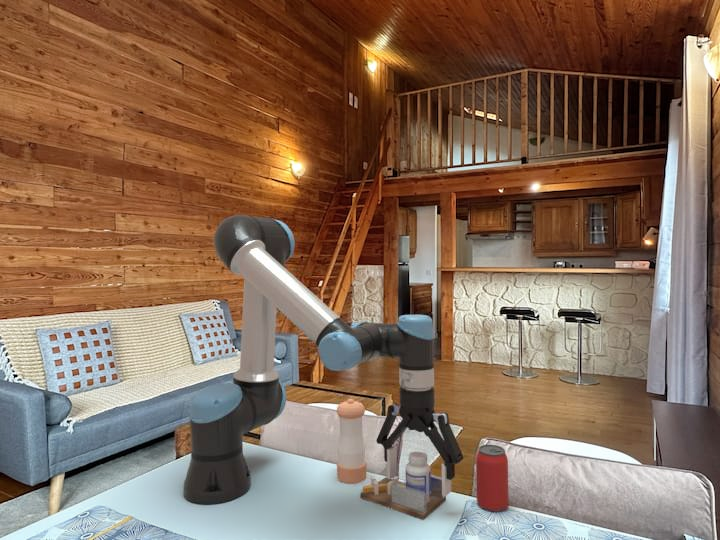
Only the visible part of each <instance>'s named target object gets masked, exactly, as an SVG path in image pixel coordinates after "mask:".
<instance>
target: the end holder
mask: <svg viewBox="0 0 720 540" xmlns="http://www.w3.org/2000/svg"><path fill="white" fill-rule="evenodd" d="M391 494H392V503H394V504H397V505H400V506H402V507H405V508H408V509H411V510H414V511H417V512H420V513H423V514H425V513H426V512H427V494H426V492H423V491H420V490H417V489H413V488H410V487H407V486H404V485H401V484H397V483H392V484H391ZM431 495H433V496H437V497H440V498H444V497H445V496H442V476H437V475H434V474H431Z"/></svg>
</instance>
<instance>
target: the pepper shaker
mask: <svg viewBox="0 0 720 540" xmlns="http://www.w3.org/2000/svg"><path fill="white" fill-rule="evenodd" d="M365 412H366V408H365V406H364V404H363V403H361V402H359V401H356V400H354V399H353V398H349V399H347V400H346V401H343V402H340V403H339V404H338V406H337V407H336V415H337V416H338V417H339V438H338V446H337V447H338V448H337V454H338V456H337V459H338V461H337V463H336V475H337V476H336V478H337V480H338V481H339V482H341V483H345V484H358V483H362V482H364V481H366V480H367V473H368V470H367V468H368V467H367V461H366V447H365V446H366V445H365V441H364V434H363V416H364V415H365Z"/></svg>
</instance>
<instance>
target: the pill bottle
mask: <svg viewBox="0 0 720 540" xmlns="http://www.w3.org/2000/svg"><path fill="white" fill-rule="evenodd" d="M431 475H432V471H431V466H430V465H429V463H428V454H427V453H426V452H423V451H412V452H411V451H410V453H408V463H406V465H405V483H406V486H407V487H410V488H413V489H417V490H420V491H423V492H426V494H427V503H429V502H430V500H431Z"/></svg>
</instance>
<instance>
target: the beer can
mask: <svg viewBox="0 0 720 540" xmlns="http://www.w3.org/2000/svg"><path fill="white" fill-rule="evenodd" d="M508 459H509V458H508V456H507V454H506V449H505V448H504V447H502V446H499V445H497V444H482V445H480V446H478V451H477V455H476V457H475V460H476V461H475V466H476V467H475V471H476V472H475V473H476V475H475V476H476V502H477V505H478V506H480V507H481V508H482V509H484V510H487V511H488V512H489V511H491V512H501V511H503V510H504V511H505V510H506V509H508V507H509V504H510V503H509V502H510V501H509V460H508Z"/></svg>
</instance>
